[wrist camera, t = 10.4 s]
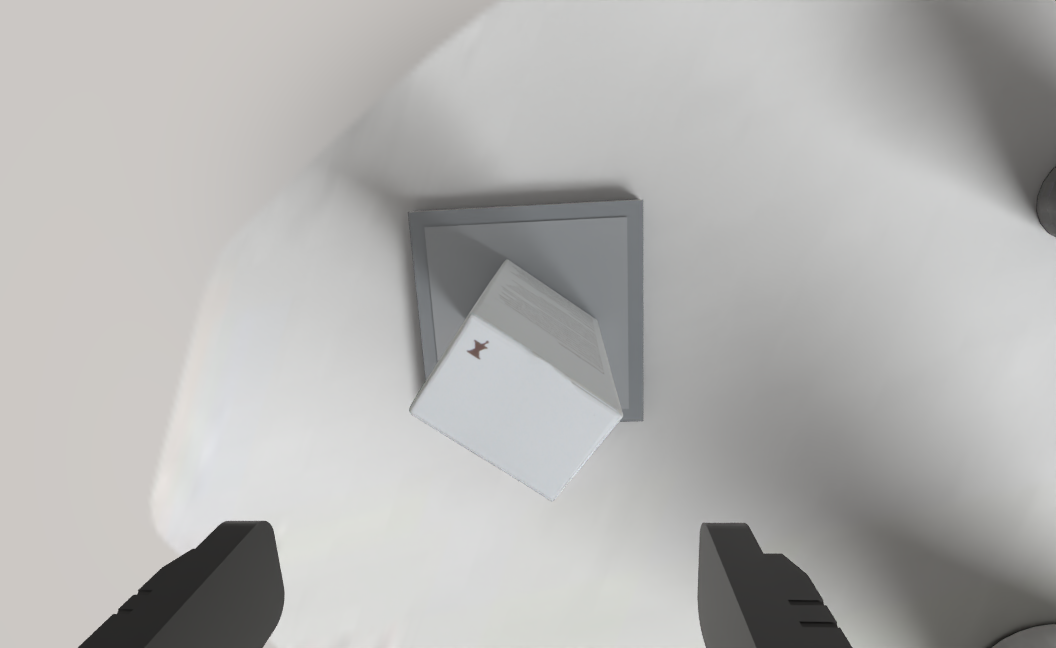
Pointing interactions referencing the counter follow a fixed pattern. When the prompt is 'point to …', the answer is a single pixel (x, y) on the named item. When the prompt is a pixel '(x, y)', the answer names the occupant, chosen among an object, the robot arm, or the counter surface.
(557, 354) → the skincare box
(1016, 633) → the robot arm
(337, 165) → the counter surface
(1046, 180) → the beverage cup
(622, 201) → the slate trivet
